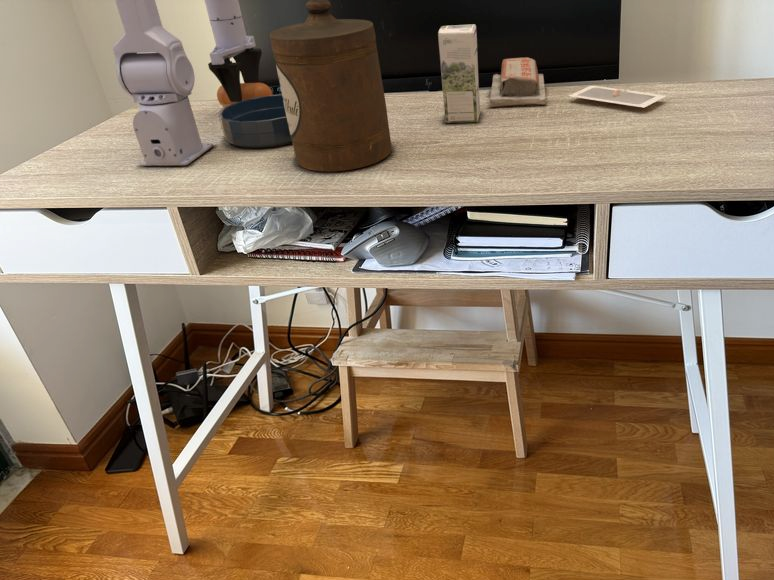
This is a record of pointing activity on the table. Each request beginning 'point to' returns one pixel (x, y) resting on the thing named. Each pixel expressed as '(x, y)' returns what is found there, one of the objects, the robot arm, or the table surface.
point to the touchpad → (618, 96)
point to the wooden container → (332, 91)
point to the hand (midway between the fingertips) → (245, 95)
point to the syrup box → (459, 73)
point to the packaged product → (518, 84)
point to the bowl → (256, 122)
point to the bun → (244, 92)
